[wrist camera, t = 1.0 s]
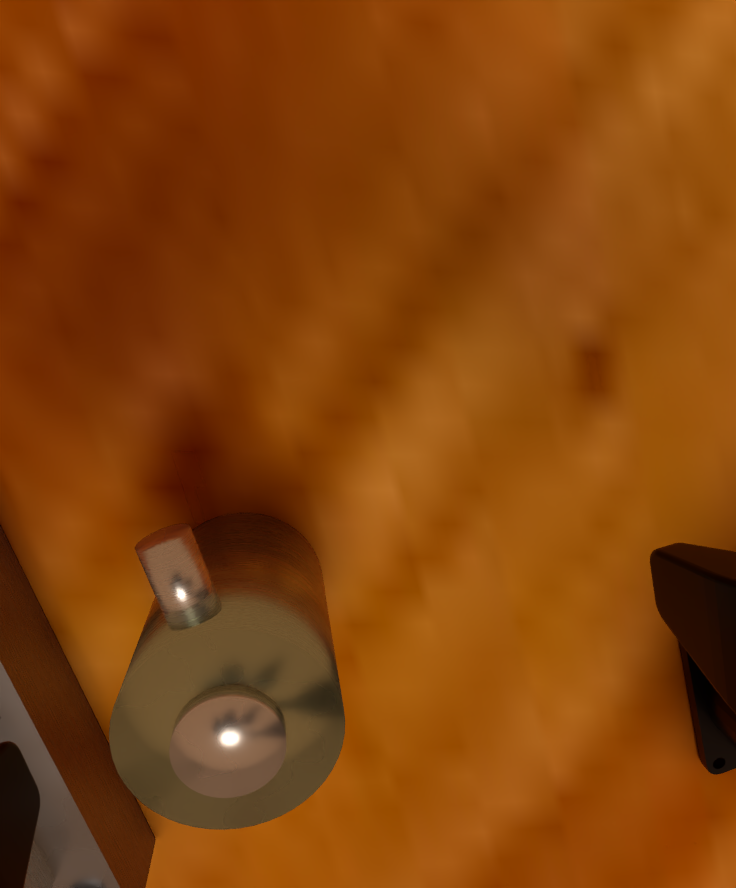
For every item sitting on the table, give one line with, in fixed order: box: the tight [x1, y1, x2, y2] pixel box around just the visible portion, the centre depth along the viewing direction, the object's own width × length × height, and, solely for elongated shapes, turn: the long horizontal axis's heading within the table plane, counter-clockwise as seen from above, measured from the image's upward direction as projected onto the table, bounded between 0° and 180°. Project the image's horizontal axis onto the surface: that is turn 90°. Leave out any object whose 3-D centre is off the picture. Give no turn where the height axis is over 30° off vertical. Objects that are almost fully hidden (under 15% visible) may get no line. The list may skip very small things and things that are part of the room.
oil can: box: [109, 513, 345, 829], centre depth 17 cm, size 7×5×8 cm
